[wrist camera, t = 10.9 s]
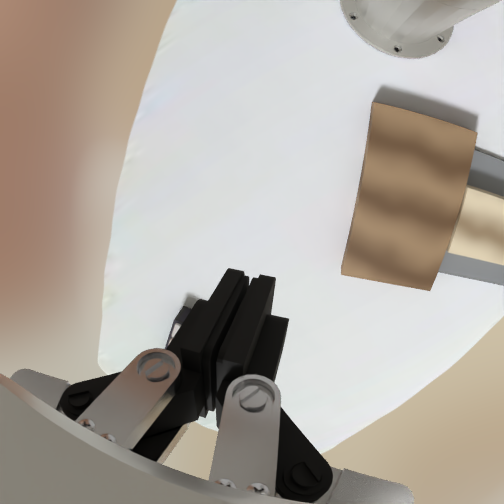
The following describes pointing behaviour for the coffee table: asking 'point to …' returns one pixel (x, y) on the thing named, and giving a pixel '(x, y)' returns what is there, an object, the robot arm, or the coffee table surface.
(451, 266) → the rubber mat
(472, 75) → the coffee table surface
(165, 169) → the coffee table surface
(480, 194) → the oak tile
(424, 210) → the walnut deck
